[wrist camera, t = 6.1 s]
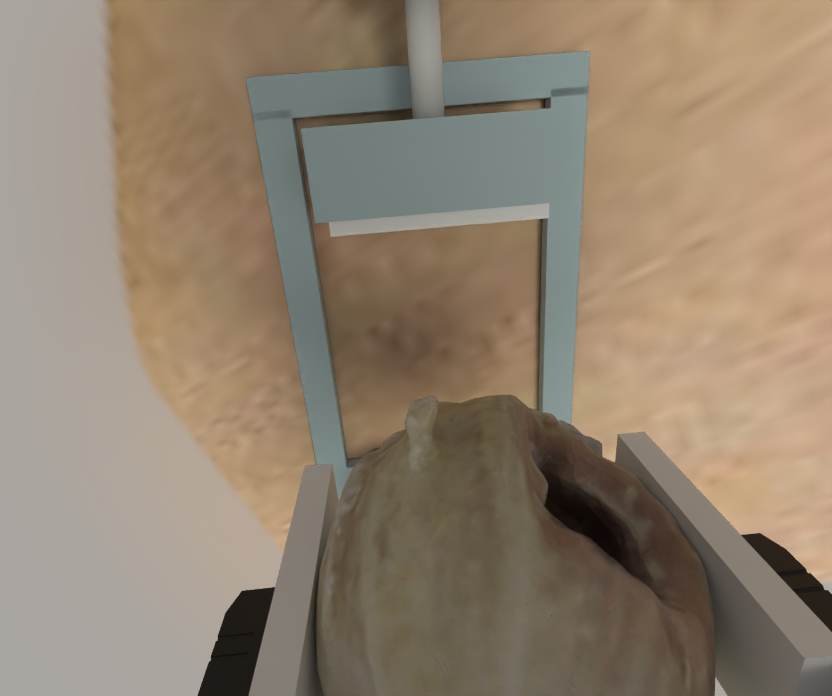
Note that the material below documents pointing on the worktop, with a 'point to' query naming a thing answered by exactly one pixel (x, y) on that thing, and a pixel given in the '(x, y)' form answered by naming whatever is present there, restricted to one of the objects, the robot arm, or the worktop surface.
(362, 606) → the garlic bulb
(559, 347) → the vise
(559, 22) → the worktop surface
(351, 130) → the jaw
